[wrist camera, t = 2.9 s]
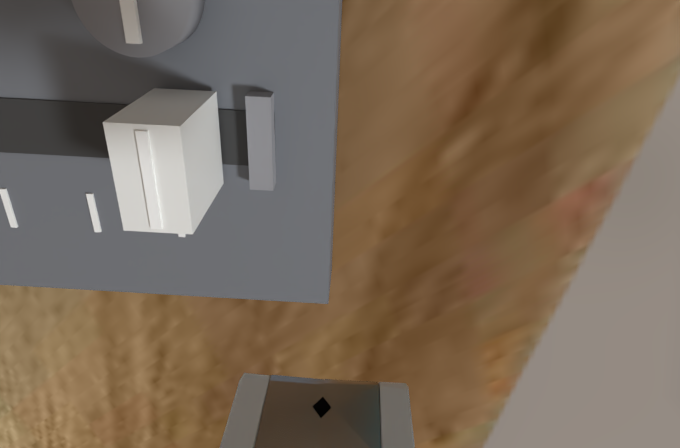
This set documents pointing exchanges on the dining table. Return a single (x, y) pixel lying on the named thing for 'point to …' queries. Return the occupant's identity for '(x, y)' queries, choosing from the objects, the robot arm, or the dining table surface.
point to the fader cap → (166, 159)
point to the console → (235, 137)
